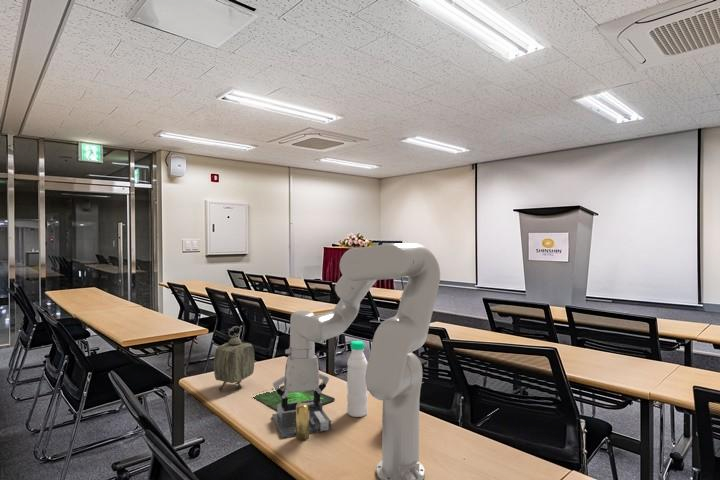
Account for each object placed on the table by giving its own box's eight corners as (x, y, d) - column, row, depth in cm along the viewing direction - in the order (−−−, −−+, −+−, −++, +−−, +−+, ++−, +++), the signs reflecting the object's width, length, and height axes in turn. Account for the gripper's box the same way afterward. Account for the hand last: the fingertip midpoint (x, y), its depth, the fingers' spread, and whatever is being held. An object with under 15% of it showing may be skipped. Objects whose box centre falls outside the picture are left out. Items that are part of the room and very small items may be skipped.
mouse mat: (248, 396, 160) (248, 394, 160) (294, 382, 175) (294, 380, 175) (288, 419, 140) (288, 416, 140) (337, 401, 156) (337, 398, 156)
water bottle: (365, 418, 140) (365, 345, 140) (345, 416, 141) (345, 343, 141) (369, 410, 147) (369, 339, 147) (349, 408, 148) (349, 338, 148)
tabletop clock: (239, 380, 177) (239, 322, 177) (256, 383, 173) (256, 324, 173) (213, 392, 164) (213, 329, 164) (231, 395, 160) (231, 331, 160)
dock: (331, 429, 132) (332, 413, 132) (281, 438, 126) (281, 422, 126) (317, 409, 147) (317, 395, 147) (272, 417, 141) (272, 402, 141)
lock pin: (328, 429, 130) (328, 421, 130) (320, 431, 129) (320, 422, 129) (320, 418, 138) (320, 410, 138) (312, 419, 137) (312, 411, 137)
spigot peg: (310, 439, 126) (310, 406, 125) (297, 442, 124) (297, 408, 124) (307, 433, 129) (307, 401, 129) (294, 436, 128) (294, 403, 128)
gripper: (276, 358, 120) (274, 416, 120) (332, 353, 126) (331, 408, 127) (271, 351, 127) (270, 406, 127) (325, 346, 133) (324, 399, 134)
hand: (300, 407), depth 127 cm, fingers open, 9 cm apart
